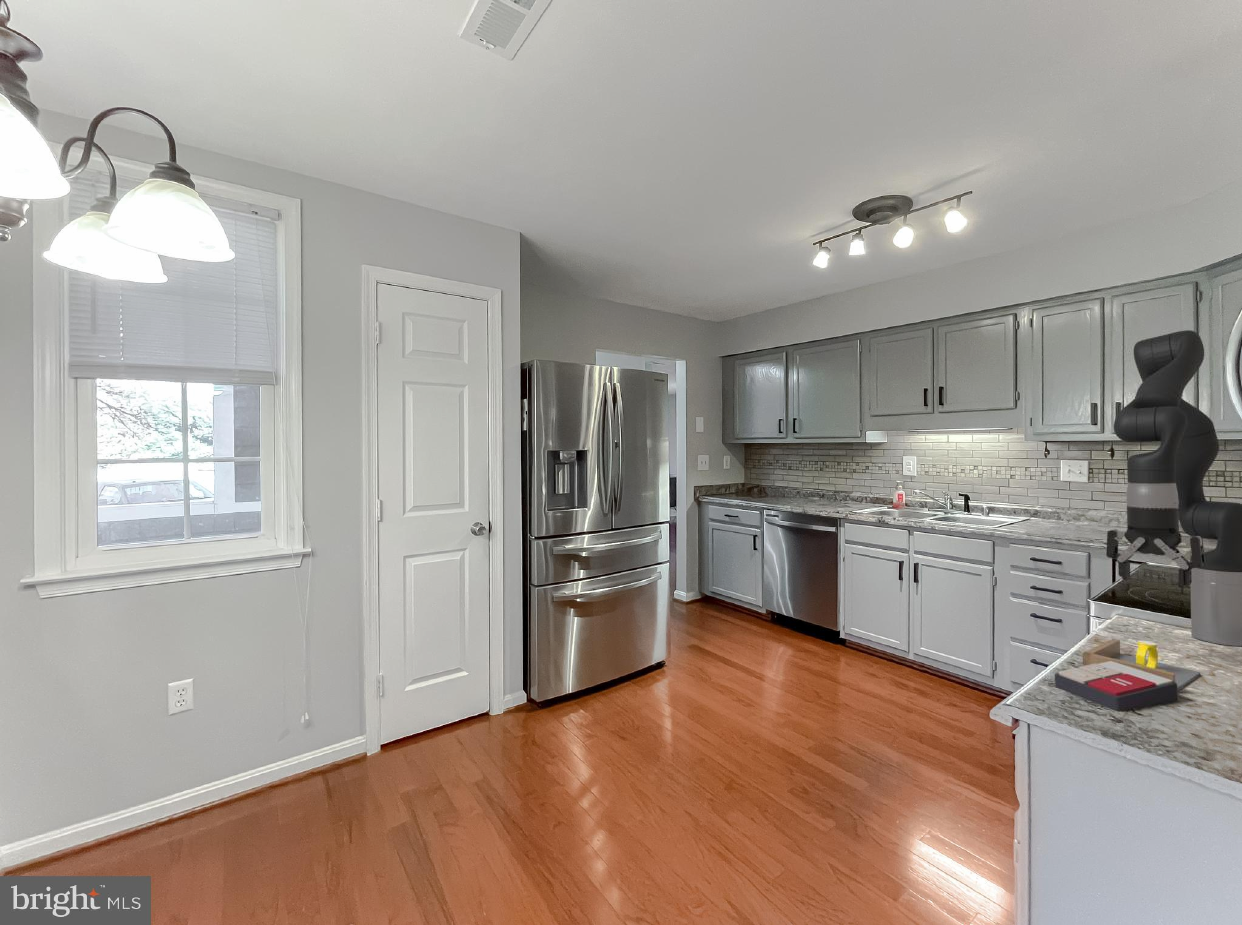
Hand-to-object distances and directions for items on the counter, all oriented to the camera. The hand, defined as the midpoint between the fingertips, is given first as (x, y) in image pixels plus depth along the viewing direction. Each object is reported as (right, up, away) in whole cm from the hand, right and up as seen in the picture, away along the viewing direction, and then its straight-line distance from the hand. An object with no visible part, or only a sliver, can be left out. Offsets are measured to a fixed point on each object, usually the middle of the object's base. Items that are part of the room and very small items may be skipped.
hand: (1154, 583), depth 109 cm
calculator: (-16, -20, -8) cm, 27 cm away
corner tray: (-2, -19, +1) cm, 19 cm away
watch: (-1, -18, 0) cm, 18 cm away
